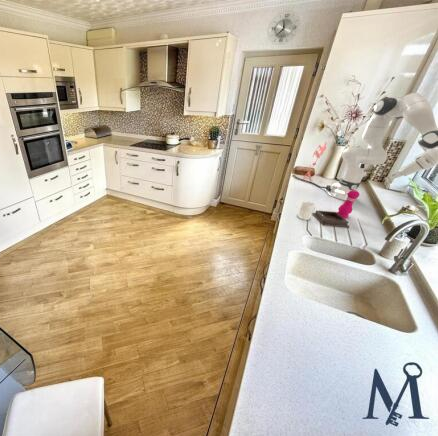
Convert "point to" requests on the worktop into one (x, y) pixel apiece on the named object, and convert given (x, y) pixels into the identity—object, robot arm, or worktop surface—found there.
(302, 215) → the white cup
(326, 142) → the figurine
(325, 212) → the dock pad
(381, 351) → the worktop surface
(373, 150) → the robot arm
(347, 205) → the pepper mill
